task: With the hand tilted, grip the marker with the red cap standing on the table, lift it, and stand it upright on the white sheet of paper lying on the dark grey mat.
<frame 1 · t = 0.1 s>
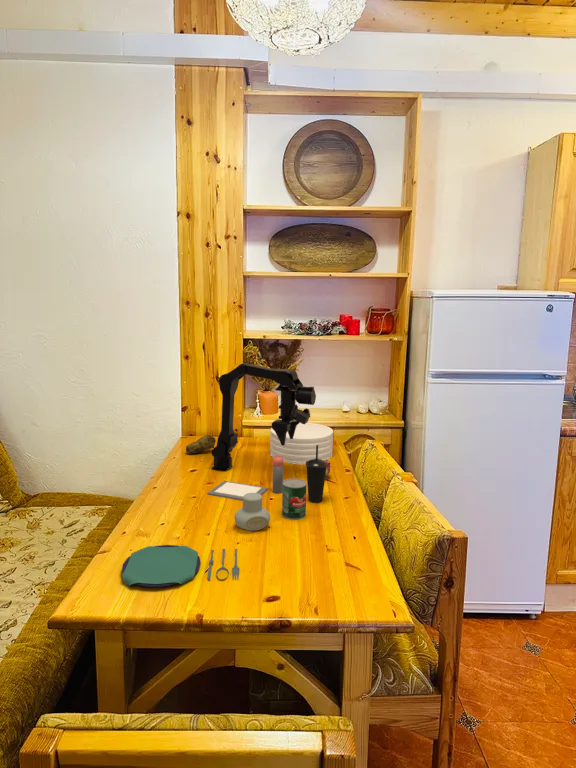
hand: (287, 442, 195), 15 cm above the table, tool pointing down, fingers open, 9 cm apart
canned tomato: (293, 515, 165), on the table
marker: (277, 491, 184), on the table
potato: (201, 453, 226), on the table
drinking cup: (315, 500, 177), on the table
writing mat: (238, 491, 183), on the table
air freshener: (252, 527, 156), on the table
cutlery set: (181, 570, 132), on the table
plate stack: (301, 454, 227), on the table
flower: (319, 478, 198), on the table
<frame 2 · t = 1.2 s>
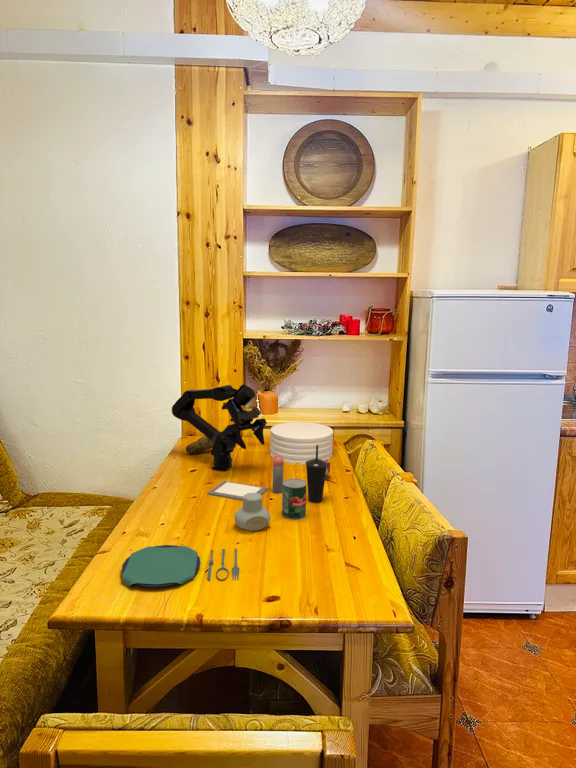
hand: (254, 446, 193), 13 cm above the table, tool tilted 45°, fingers open, 9 cm apart
nothing on the table moved.
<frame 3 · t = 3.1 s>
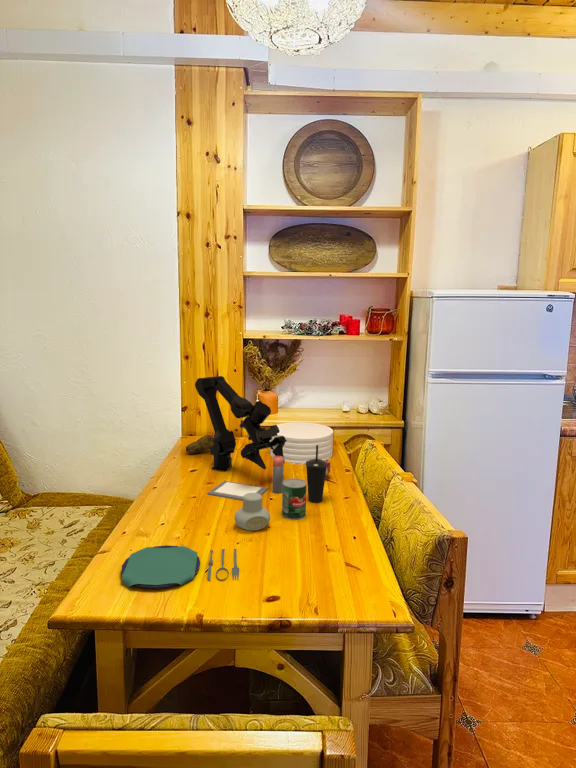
hand: (274, 466, 183), 9 cm above the table, tool tilted 45°, fingers open, 9 cm apart
nothing on the table moved.
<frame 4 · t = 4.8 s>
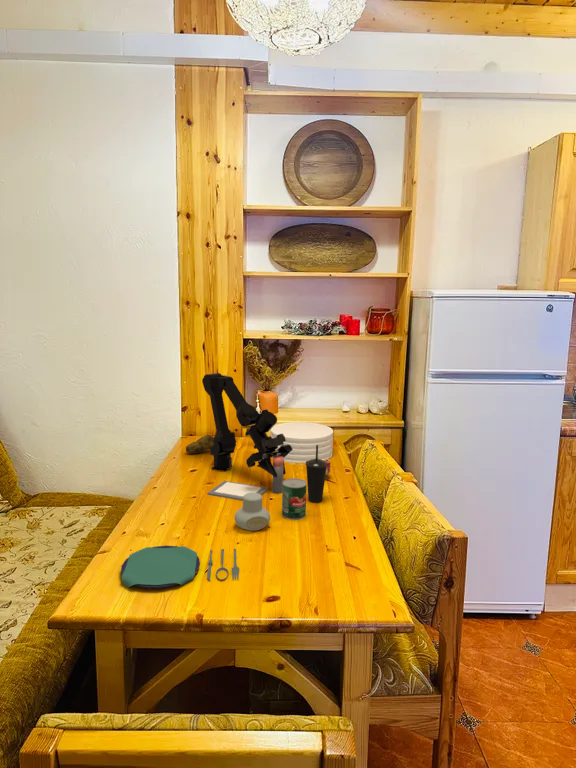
hand: (280, 475, 182), 7 cm above the table, tool tilted 45°, fingers closed on marker, 4 cm apart
marker: (277, 491, 184), on the table, touching gripper
everything else where it was.
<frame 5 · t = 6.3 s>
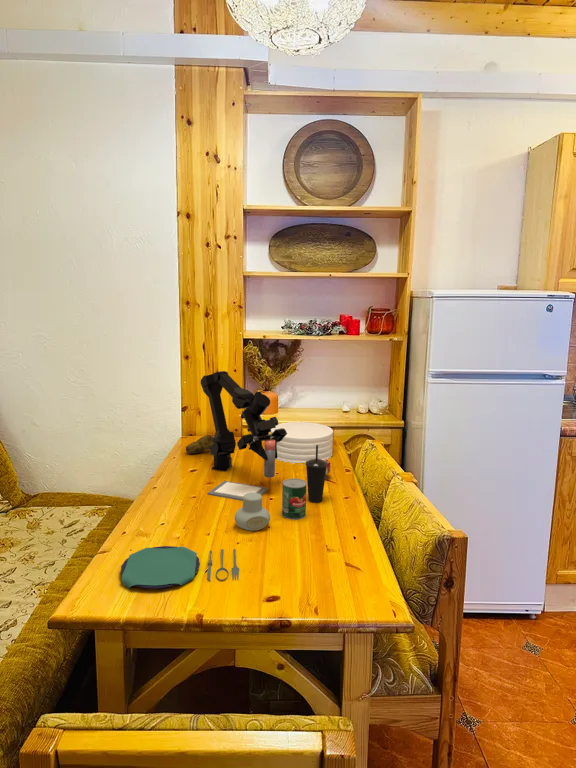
hand: (271, 459, 178), 13 cm above the table, tool tilted 45°, fingers closed on marker, 4 cm apart
marker: (269, 475, 180), point 7 cm above the table, touching gripper
everything else where it was.
when the fingers open (9 cm above the table, at t = 8.2 s): marker drops 1 cm, resting on writing mat.
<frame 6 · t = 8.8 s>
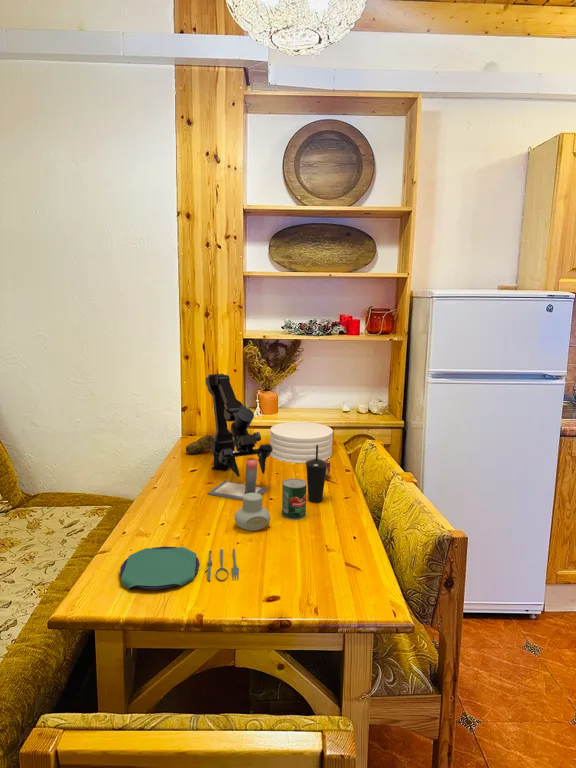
hand: (251, 474, 175), 9 cm above the table, tool tilted 45°, fingers open, 9 cm apart
marker: (249, 494, 178), point 1 cm above the table, touching writing mat
everything else where it was.
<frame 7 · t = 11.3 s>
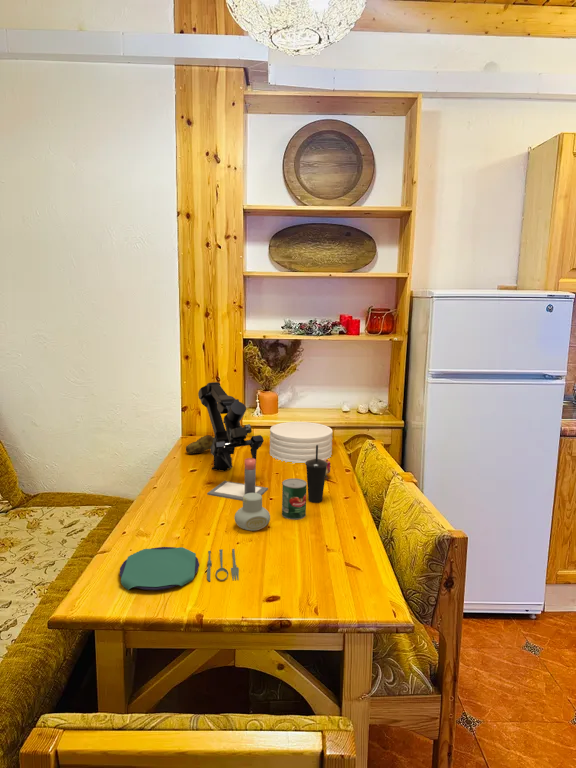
hand: (243, 465, 184), 9 cm above the table, tool tilted 45°, fingers open, 9 cm apart
nothing on the table moved.
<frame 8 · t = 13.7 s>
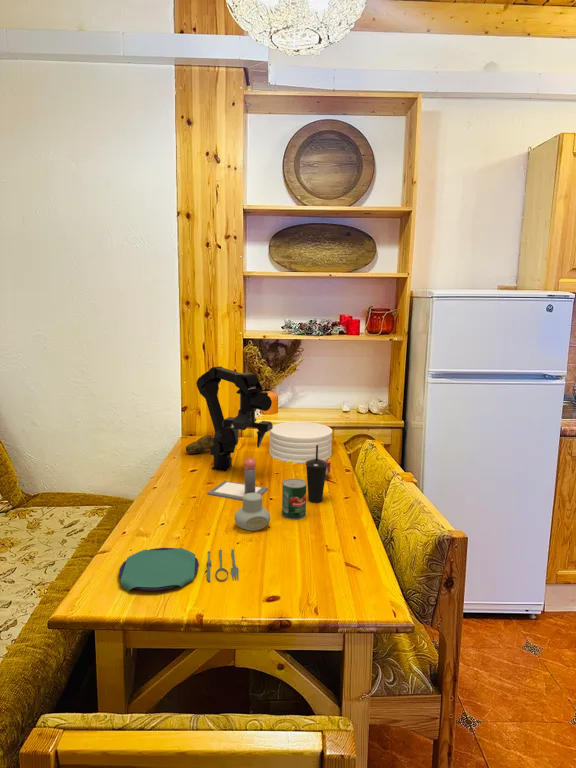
hand: (247, 445, 194), 13 cm above the table, tool pointing down, fingers open, 9 cm apart
at the end: marker inside the target area on the writing mat (6.7 cm from its centre), point 0.9 cm above the writing mat's base; marker tilted 0°; the gripper is holding nothing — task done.
